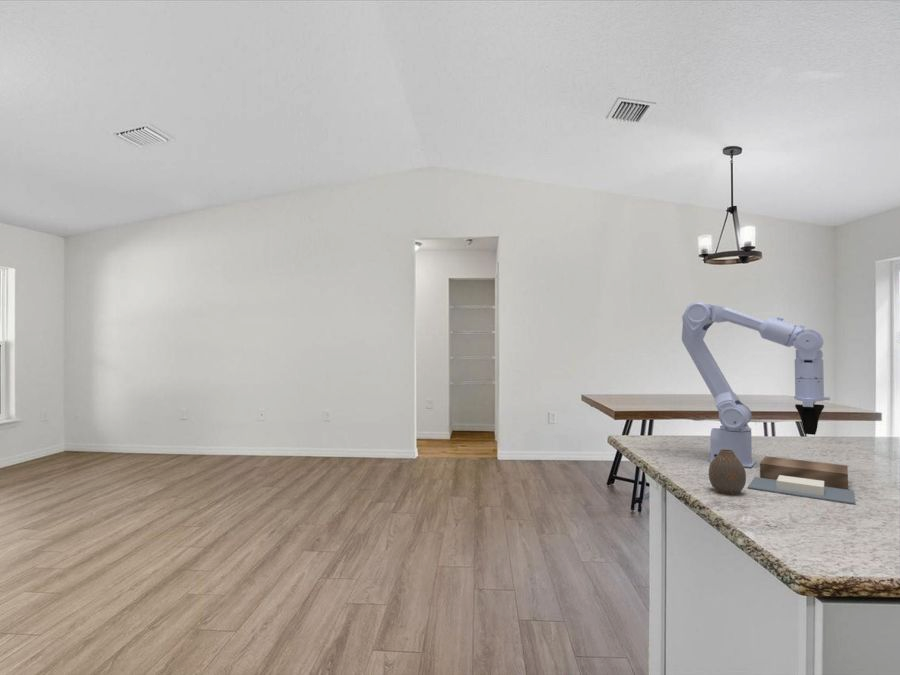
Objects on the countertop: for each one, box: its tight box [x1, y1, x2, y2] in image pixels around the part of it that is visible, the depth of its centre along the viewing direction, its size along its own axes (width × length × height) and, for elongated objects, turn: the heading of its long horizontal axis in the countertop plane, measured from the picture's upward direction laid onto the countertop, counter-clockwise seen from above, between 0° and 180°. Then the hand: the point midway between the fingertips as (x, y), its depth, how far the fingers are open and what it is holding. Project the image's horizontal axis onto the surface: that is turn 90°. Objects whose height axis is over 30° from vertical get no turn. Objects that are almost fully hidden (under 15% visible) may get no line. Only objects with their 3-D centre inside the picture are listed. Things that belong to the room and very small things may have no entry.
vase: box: [708, 449, 747, 495], centre depth 104 cm, size 7×7×9 cm
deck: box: [759, 455, 849, 490], centre depth 114 cm, size 16×10×4 cm, turn 51°
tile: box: [777, 475, 825, 496], centre depth 105 cm, size 8×6×2 cm
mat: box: [747, 476, 856, 506], centre depth 105 cm, size 18×11×1 cm, turn 51°
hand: (810, 434), depth 121 cm, fingers closed
